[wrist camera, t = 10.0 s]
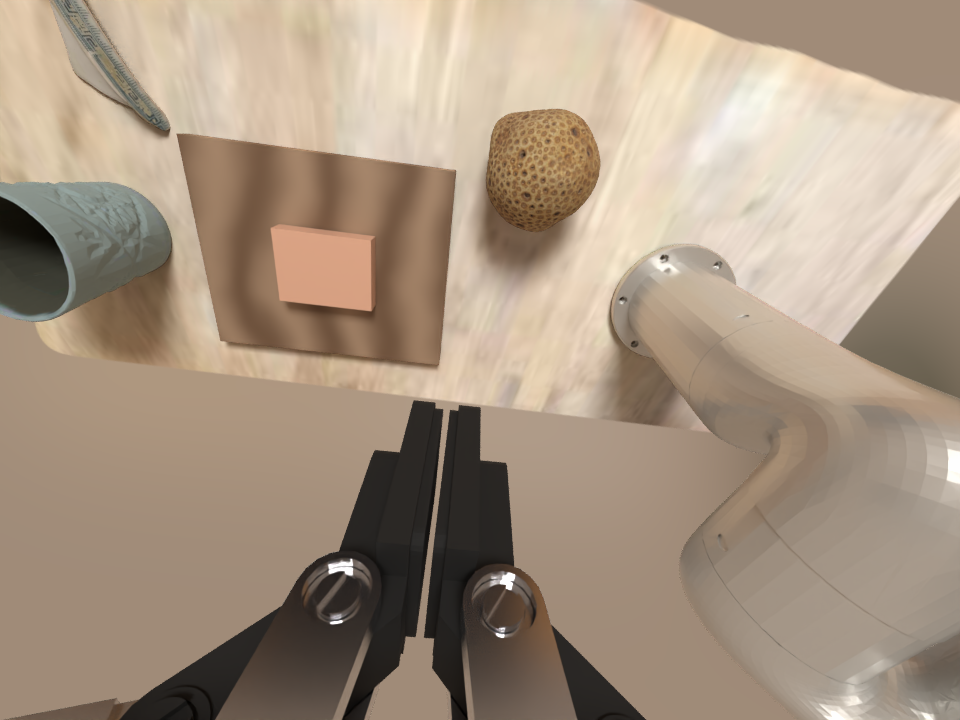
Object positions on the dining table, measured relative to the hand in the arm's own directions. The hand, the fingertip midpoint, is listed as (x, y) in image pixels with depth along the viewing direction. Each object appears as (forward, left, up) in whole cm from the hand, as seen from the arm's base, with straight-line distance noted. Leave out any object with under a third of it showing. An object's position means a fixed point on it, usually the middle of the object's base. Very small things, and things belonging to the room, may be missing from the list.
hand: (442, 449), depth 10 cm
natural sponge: (-5, -5, -33) cm, 34 cm away
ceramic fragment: (+31, -10, -34) cm, 47 cm away
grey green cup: (+34, +5, -33) cm, 48 cm away
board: (+14, +6, -33) cm, 36 cm away
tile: (+9, +6, -31) cm, 32 cm away
